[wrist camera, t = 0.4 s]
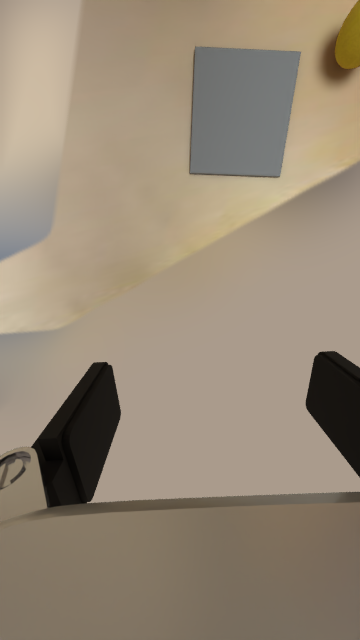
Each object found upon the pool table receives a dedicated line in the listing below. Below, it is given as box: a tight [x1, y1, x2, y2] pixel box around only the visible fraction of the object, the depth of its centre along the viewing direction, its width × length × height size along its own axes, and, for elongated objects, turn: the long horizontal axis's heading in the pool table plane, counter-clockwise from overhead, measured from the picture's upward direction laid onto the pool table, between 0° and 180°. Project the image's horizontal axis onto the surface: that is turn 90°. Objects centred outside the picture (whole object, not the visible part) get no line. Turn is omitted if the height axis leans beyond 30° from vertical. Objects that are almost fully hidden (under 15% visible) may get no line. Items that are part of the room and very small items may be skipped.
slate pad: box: [190, 47, 301, 177], centre depth 30 cm, size 14×14×1 cm
